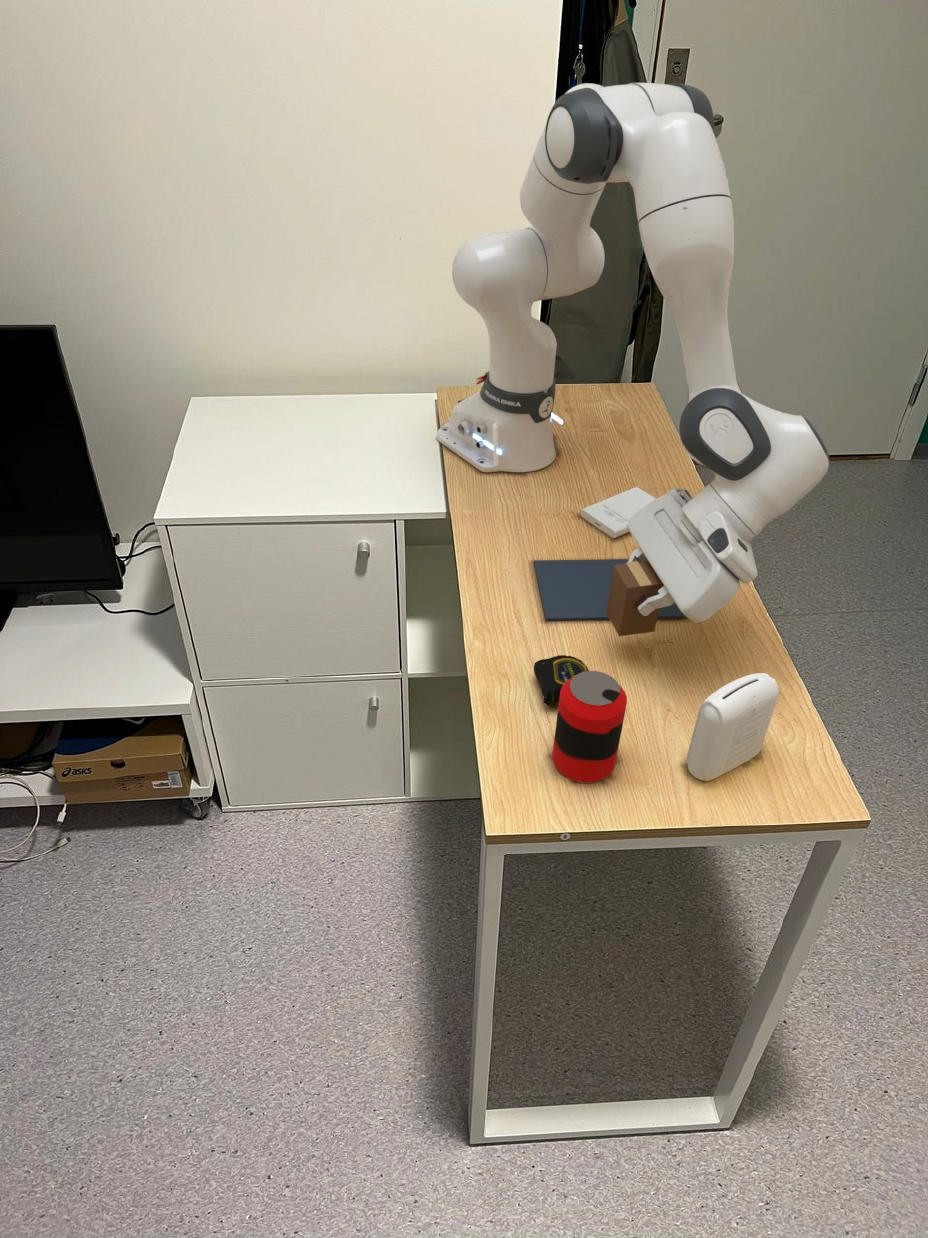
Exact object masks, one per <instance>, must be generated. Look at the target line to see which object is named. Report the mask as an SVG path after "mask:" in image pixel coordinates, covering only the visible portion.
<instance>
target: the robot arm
mask: <svg viewBox="0 0 928 1238" xmlns="http://www.w3.org/2000/svg"><path fill="white" fill-rule="evenodd" d="M607 183H629V184H630V186H631V187H632V190H633V195H634V202H635V210H636V217H637V224H638V231H639V235H640V241H641V244H642V248H643V252H644V255H645V259H646V261H647V264H648V268H649V269H650V272H651V274H652V277H653V280H654V282H655V284H656V286H657V288H658V289H659V291H660V293H661V295H662V297H663V299H664V300H665V302H666V305H667V307H668V308H669V311H670V313H671V316H672V317H673V320H674V323H675V326H676V330H677V332H678V333H677V334H678V337H679V342H680V349H681V354H682V360H683V367H684V373H685V379H686V384H687V403H686V405H685V406H684V408H683V411H682V412H681V415H680V419H679V425H678V435H679V440H680V443H681V445H682V448H683V449H684V451H685V452H686V454H687V455H688V456H689V457H690V459H691V460H692V461H694V462H695V463H696V464H697V465H699V466H701V467H703V468H705V469H709V470H710V471H711V472H713V473H714V479H713V480H712V481H711V482H710V483H708V484H707V485H705V487H704V488H703V489H701V490H700V491H698V493H697V494H695V495H694V496H692V495H691V493H690V491H689V490H688V489H686V488H672V489H670V490H669V491H668V492H666V493H665V494H663V495H660V496H658V497H657V498H656V499H655V500H653V501H652V502H650V503H649V504H648V505H646V506H645V507H643V508H642V509H641V510H639V511H638V512H637V513H636V514H634V515H633V516H632V517H631V518H630V520H629V522H628V524H627V529H628V530H629V532H628V533H630V535H631V537H632V538H633V540H634V541H635V543H636V544H637V546H638V547H637V548H636V549H634V551H632V553H631V554H630V557H629V558H628V559H629V561H628V562H635V561H638V562H644V561H649V563H650V564H651V566H652V567H653V569H654V571H655V572H656V574H657V575H658V577H659V578H660V580H661V581H662V583H663V584H664V586H663V587H662V588H661V589H659V590H658V593H659V594H658V595H655V596H652V597H650V598H647V597H646V596H645V595H644V596H643V597H642V598H640V600H638V601H637V602H636V603H635V606H636V607H637V609H638V611H639V612H640V613H641V614H642V615H643V616H647V615H649V614H650V613H651V612H652V611H653V610H655V609H658V608H662V607H667V606H671V605H672V604H673V603H674V602H675V603H676V605H677V606H678V608H679V609H680V611H681V612H682V613H683V614H684V615H685V617H686V618H687V619H689V620H690V621H691V622H692V623H703V622H705V621H707V620H709V619H710V618H711V617H713V616H714V615H716V614H717V613H718V612H719V611H720V610H721V609H723V608H724V607H725V606H726V605H727V604H728V603H729V602H730V601H732V600H733V599H734V597H735V596H736V595H737V594H738V592H739V591H740V587H741V583H742V584H745V585H747V584H749V583H751V582H753V581H754V580H755V579H756V578H757V576H758V568H757V565H756V561H755V560H756V559H755V556H754V552H753V547H752V543H751V542H752V541H754V539H756V538H757V537H758V536H759V535H761V533H762V532H763V530H764V528H765V527H766V526H767V525H768V524H769V523H771V522H772V520H774V519H775V518H778V517H780V516H782V515H784V514H786V513H787V512H789V511H790V510H791V509H792V508H793V507H794V506H796V505H797V504H798V503H799V502H800V501H801V500H802V499H804V498H805V497H806V496H807V495H808V494H809V493H811V491H812V490H813V489H815V488H816V487H817V485H818V484H819V483H820V482H821V481H822V480H823V479H824V478H825V476H826V475H827V473H828V472H829V469H830V468H829V466H830V454H829V453H830V452H829V451H828V449H827V446H826V444H825V442H824V441H823V439H822V437H821V436H820V434H819V433H818V430H816V427H814V426H813V424H812V423H811V422H810V421H809V419H807V418H806V417H804V415H800V414H799V415H798V414H791V413H788V412H783V411H780V410H777V409H774V408H771V407H769V406H767V405H764V404H762V403H760V402H759V401H756V400H754V399H752V398H751V397H749V396H748V395H746V394H745V393H743V392H742V389H741V387H740V385H739V382H738V378H737V374H736V368H735V360H734V355H733V348H732V342H731V335H730V328H729V319H728V318H729V317H728V307H729V306H728V305H729V304H728V303H729V293H730V285H731V280H732V275H733V267H734V259H735V258H734V257H735V219H734V207H733V201H732V196H731V195H732V194H731V190H730V186H729V185H730V184H729V180H728V176H727V171H726V167H725V164H724V161H723V156H722V153H721V150H720V147H719V143H718V141H717V138H716V135H715V116H714V109H713V107H712V103H711V101H710V99H709V97H708V96H707V95H706V94H705V92H704V91H703V90H701V89H699V88H697V87H695V86H692V85H689V84H685V83H679V82H673V83H670V84H665V83H658V82H657V83H656V82H630V83H627V84H616V85H607V86H603V85H601V84H597V83H588V82H585V83H580V84H577V85H575V86H573V87H571V88H569V89H568V90H567V91H566V92H565V93H564V94H563V95H560V96H559V97H558V98H557V99H556V101H555V102H554V104H553V105H552V107H551V109H550V112H549V113H548V116H547V119H546V124H545V126H544V128H543V130H542V132H541V135H540V137H539V139H538V141H537V144H536V147H535V149H534V152H533V154H532V156H531V159H530V163H529V165H528V168H527V170H526V173H525V176H524V179H523V181H522V183H521V187H520V190H519V203H520V208H521V211H522V213H523V216H524V217H525V218H526V220H527V221H528V223H529V224H530V226H528V227H525V228H520V229H519V228H518V229H511V230H504V231H495V232H489V233H485V234H483V235H480V236H477V237H475V238H472V239H470V240H466V242H463V243H462V244H460V245H459V247H458V248H457V250H456V252H455V255H454V257H453V261H452V264H451V265H452V266H451V277H452V283H453V286H454V288H455V291H456V293H457V294H458V295H459V297H460V298H461V300H462V301H463V302H465V303H466V304H467V305H468V306H470V307H471V308H472V309H473V310H475V311H476V312H477V313H478V314H479V315H480V317H481V318H482V320H483V322H484V325H485V327H486V330H487V334H488V340H489V341H488V343H489V344H488V345H489V370H488V371H486V372H485V373H484V375H481V376H479V377H476V383H475V385H479V384H482V383H483V384H482V387H481V389H480V390H478V391H477V392H474V393H473V394H470V395H469V396H468V397H466V398H463V399H459V400H457V404H456V405H455V406H454V407H453V409H452V411H451V413H450V418H449V421H448V422H446V423H445V424H443V425H442V426H441V427H440V428H439V429H438V430H437V431H436V436H435V440H436V441H438V442H439V443H440V444H442V445H443V446H444V447H446V448H447V449H449V450H450V451H452V452H453V453H455V455H457V456H458V457H460V458H461V459H462V460H464V461H465V462H467V463H468V464H470V465H471V466H472V467H474V468H475V469H477V470H478V471H480V472H483V473H494V472H509V473H529V472H530V473H531V472H535V471H539V470H541V469H545V468H547V467H548V466H549V465H551V464H552V463H553V462H554V461H555V459H556V456H557V453H556V448H555V447H556V446H555V442H554V435H553V434H554V433H553V420H555V421H556V422H558V424H560V425H563V424H564V420H563V419H562V418H560V417H559V416H558V415H556V414H554V412H553V409H554V404H555V400H556V399H555V398H556V383H557V382H556V379H555V370H556V358H557V348H558V341H557V338H556V336H555V333H554V331H553V330H552V328H551V327H550V326H549V325H548V324H547V323H544V322H543V321H541V320H539V319H537V318H534V317H532V307H533V304H534V303H536V302H539V301H544V300H550V299H552V300H553V299H557V298H562V297H563V298H564V297H569V296H572V295H574V294H577V293H579V292H581V291H584V290H586V289H588V288H591V287H593V286H595V285H596V284H597V283H598V282H599V280H600V278H601V276H602V274H603V271H604V267H605V260H606V259H605V257H606V256H605V249H604V244H603V242H602V240H601V238H600V236H599V234H598V233H597V232H596V231H595V229H593V228H592V227H591V220H592V217H593V215H594V213H595V210H596V207H597V205H598V202H599V200H600V198H601V196H602V194H603V192H604V189H605V187H606V185H607Z"/></svg>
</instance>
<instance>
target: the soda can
mask: <svg viewBox="0 0 928 1238" xmlns="http://www.w3.org/2000/svg"><path fill="white" fill-rule="evenodd" d="M627 704H628V696H627V694H626V691H625V690H624V688H623V687H622V686H621V685H620V684H619V682H618V680H616V679H615V678H614V677H613V676H611V675H610V674H608V673H605V672H603V671H598V670H589V671H585V672H581V673H579V674H577V675H575V676H574V677H572V678H571V679H569V680H568V681H566V682H565V683H564V685H563V686H562V688H561V691H560V698H559V703H558V707H557V714H556V722H555V731H554V739H553V746H552V752H551V753H552V755H551V756H552V762H553V765H554V767H555V768H556V769H557V771H559V773H561V774H562V775H563V776H564V777H566V778H568V779H569V780H572V781H575V782H578V783H585V784H589V783H596V782H600V781H602V780H604V779H606V778H607V777H609V776H610V775H611V774H612V773H613V771H614V770H615V767H616V762H617V757H618V751H619V746H620V741H621V735H622V730H623V725H624V720H625V715H626V709H627Z"/></svg>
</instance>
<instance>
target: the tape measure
mask: <svg viewBox="0 0 928 1238" xmlns="http://www.w3.org/2000/svg"><path fill="white" fill-rule="evenodd" d="M585 671H590V670H589V668H588V666H587V665H586V664H585V663H584V662H583V660H581V659H579V658H577V657H575V656H572V655H566V654H561V655H560V654H559V655H556V656H552V657H549V658H543V659H542V658H541V659H539V660H537V661H535V662H534V663H533V672H534V673H533V674H534V676H535V678H536V681H537V682H538V684H539V686H540V691H541V695H542V697H543V698H542V700H543V701H542V703H543V704H545V705H546V706H547V707H553V706H555V707H556V706H557V705H558V704H559V698H560V691H561V688H562V686H563V685H564V683H565V682H566V681H568V680H569V679H571V678H572V677H574V676H575V675H577V674H579V673H581V672H585Z"/></svg>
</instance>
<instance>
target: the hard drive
mask: <svg viewBox="0 0 928 1238" xmlns="http://www.w3.org/2000/svg"><path fill="white" fill-rule="evenodd" d="M655 499H657V498H656V497H654V496H653V495H651V494H650V493H648V492H646V491H644V490H643V489H641V488H640V487H638V486H635V487H634V486H633V488H630V489H627V490H625V491H622V492H619V493H617V494H615V495H613V496H610V497H608V498H605V499H603V500H601V501H597V502H596V503H593V504H590V505H588V506H586V507H583V508H581V509H580V512H579V513H580V514H579V516H580V517H581V518H582V519H583V520H585V521H587V522H588V523H589V524H591V525H592V526H593V527H595V528H596V529H598V530H599V531H601V532H602V533H604V534H605V535H607V536H608V537H610V538H612V539H616V538H618V537H621V536H623V535H626V534H628V533H630V532H629V530H628V529H627V524H628V522H629V520H630V518H631V517H632V516H633V515H634V514H636V513H637V512H638V511H639V510H641V509H642V508H643V507H645V506H646V505H648V504H649V503H650V502H652V501H653V500H655Z"/></svg>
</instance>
